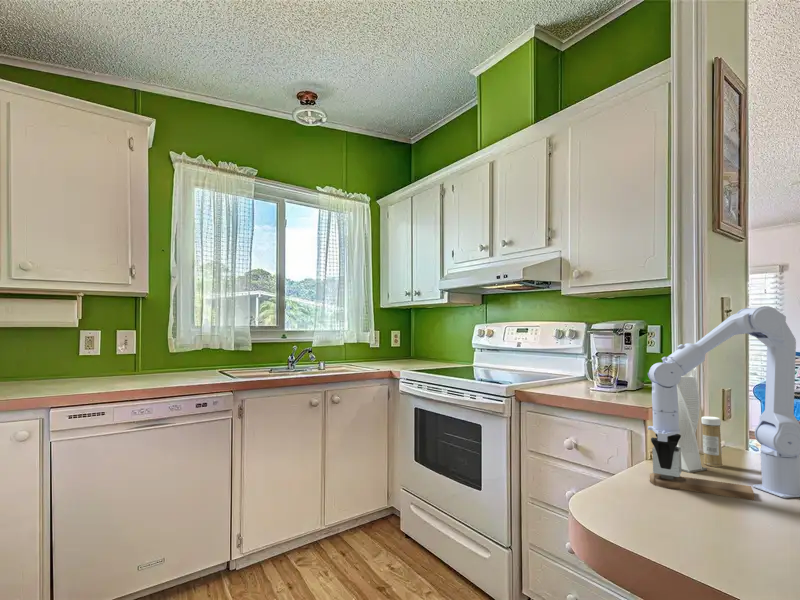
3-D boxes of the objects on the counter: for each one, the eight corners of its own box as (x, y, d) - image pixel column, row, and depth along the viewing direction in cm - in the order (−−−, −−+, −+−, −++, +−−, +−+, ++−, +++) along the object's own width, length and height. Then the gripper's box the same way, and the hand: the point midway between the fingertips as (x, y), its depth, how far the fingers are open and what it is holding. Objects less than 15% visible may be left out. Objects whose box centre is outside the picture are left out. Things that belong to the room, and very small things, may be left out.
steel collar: (656, 467, 120) (655, 444, 120) (681, 471, 116) (680, 447, 117) (653, 472, 115) (652, 448, 116) (679, 477, 112) (678, 451, 112)
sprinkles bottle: (725, 465, 131) (723, 417, 132) (718, 468, 128) (716, 419, 129) (707, 462, 135) (705, 415, 136) (700, 464, 132) (698, 416, 133)
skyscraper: (711, 471, 126) (707, 367, 128) (691, 474, 123) (687, 368, 125) (682, 463, 134) (678, 365, 135) (662, 466, 130) (659, 366, 132)
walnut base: (750, 491, 110) (749, 472, 111) (755, 502, 103) (754, 481, 104) (650, 476, 121) (650, 459, 121) (648, 485, 114) (648, 466, 115)
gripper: (651, 405, 125) (653, 456, 124) (642, 413, 113) (644, 469, 112) (682, 408, 121) (684, 461, 120) (676, 416, 109) (678, 475, 108)
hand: (667, 465), depth 116 cm, fingers closed on steel collar, 5 cm apart
